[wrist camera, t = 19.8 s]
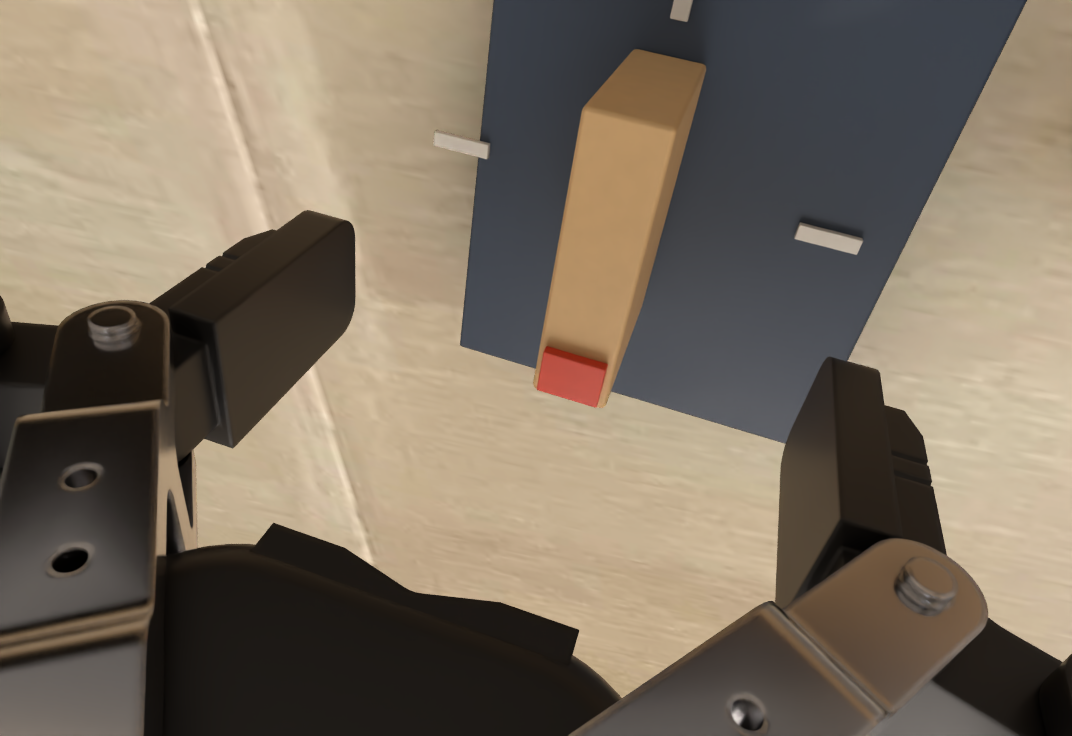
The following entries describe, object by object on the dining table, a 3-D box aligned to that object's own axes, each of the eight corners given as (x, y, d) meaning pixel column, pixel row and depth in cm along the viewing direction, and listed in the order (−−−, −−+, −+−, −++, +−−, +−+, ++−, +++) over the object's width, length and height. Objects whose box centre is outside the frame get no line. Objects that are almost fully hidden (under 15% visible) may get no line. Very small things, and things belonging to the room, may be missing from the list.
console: (503, -162, 17) (451, -163, 14) (1015, -66, 15) (1055, -48, 13) (461, 288, 24) (421, 338, 22) (804, 386, 22) (803, 454, 20)
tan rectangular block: (633, 47, 16) (577, 109, 12) (708, 63, 15) (675, 133, 12) (582, 289, 19) (527, 395, 15) (642, 306, 19) (601, 418, 15)
